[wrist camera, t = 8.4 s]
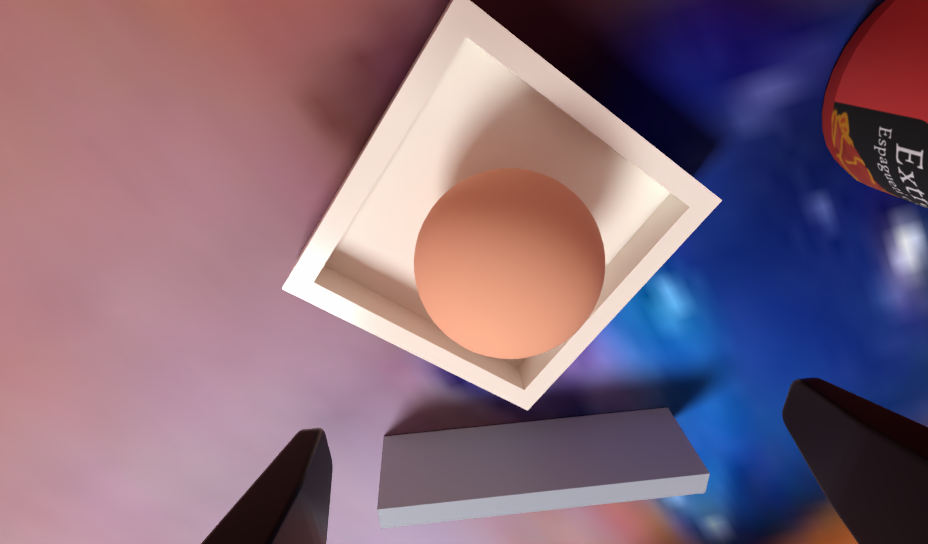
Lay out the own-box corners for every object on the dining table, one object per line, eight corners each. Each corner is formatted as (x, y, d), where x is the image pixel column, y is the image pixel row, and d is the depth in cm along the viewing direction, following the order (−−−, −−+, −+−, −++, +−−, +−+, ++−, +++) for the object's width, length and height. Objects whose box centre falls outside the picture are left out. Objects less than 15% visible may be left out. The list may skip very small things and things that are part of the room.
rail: (667, 407, 24) (709, 473, 21) (664, 425, 25) (705, 492, 21) (383, 436, 24) (377, 509, 20) (387, 454, 24) (381, 528, 21)
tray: (689, 180, 19) (722, 200, 17) (518, 375, 23) (527, 410, 21) (453, -6, 16) (458, -9, 14) (296, 260, 19) (281, 288, 17)
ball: (605, 205, 18) (683, 281, 13) (509, 322, 20) (544, 428, 15) (474, 113, 16) (504, 157, 11) (383, 251, 18) (371, 345, 13)
